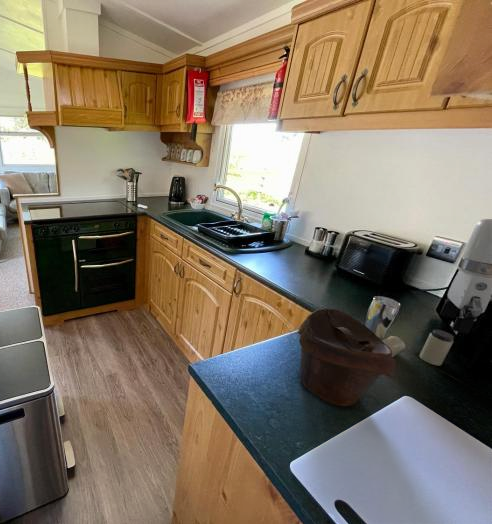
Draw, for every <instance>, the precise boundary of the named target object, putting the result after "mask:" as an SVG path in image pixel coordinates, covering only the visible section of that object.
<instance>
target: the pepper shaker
mask: <svg viewBox="0 0 492 524" xmlns="http://www.w3.org/2000/svg"><path fill="white" fill-rule="evenodd" d="M454 339H455V336H454V335H452V334H451V333H449V332H447V331H444V330H440V329H433V330H432V331H431V332H430V333H429V335H428V337H427V339H426V341H425V343H424V345H423V347H422V349H421V351H420V353H419V356H418V357H419V358H420V359H421V360H422V361H424V362H426V363H428V364H430V365H434V366H438V367H439V366H442V365H443V363H444V361H445V360H446V357H447V356H448V353H449V352H450V350H451V348H452V346H453V344H454V342H455V341H454Z"/></svg>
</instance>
